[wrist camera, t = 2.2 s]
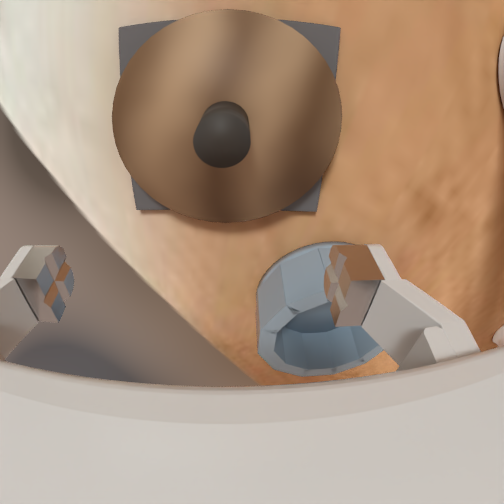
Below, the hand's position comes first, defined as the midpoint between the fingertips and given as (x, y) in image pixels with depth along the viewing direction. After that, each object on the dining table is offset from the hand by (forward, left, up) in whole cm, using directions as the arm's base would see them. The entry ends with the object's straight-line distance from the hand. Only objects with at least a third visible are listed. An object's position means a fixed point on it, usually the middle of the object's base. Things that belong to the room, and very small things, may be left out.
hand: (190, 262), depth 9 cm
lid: (0, 0, -15) cm, 15 cm away
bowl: (-10, +18, -16) cm, 26 cm away
